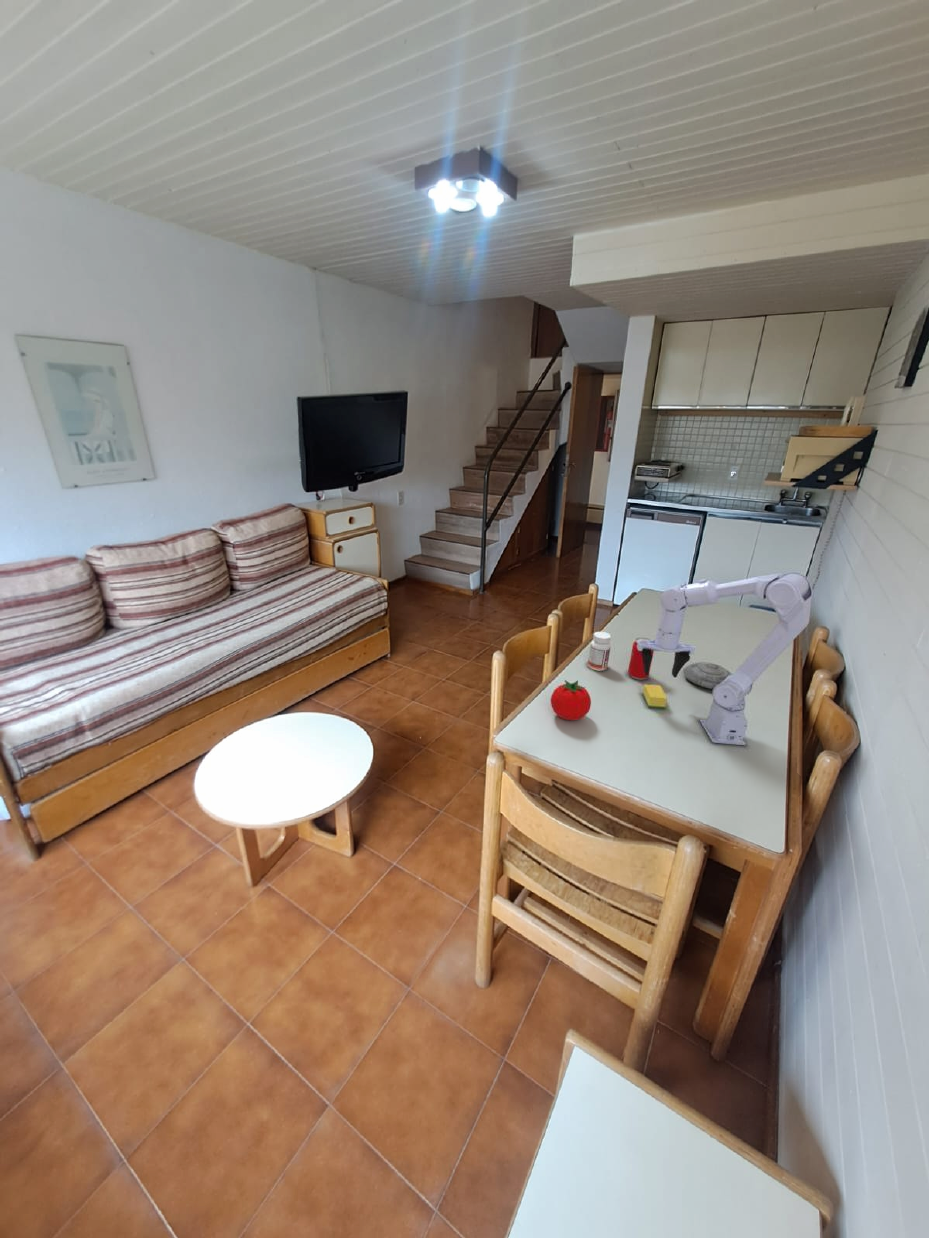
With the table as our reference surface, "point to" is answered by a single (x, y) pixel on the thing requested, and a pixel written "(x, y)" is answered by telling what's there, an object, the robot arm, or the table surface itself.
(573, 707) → the tomato
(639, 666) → the beverage can
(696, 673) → the flying saucer
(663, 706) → the sponge
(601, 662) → the pill bottle
